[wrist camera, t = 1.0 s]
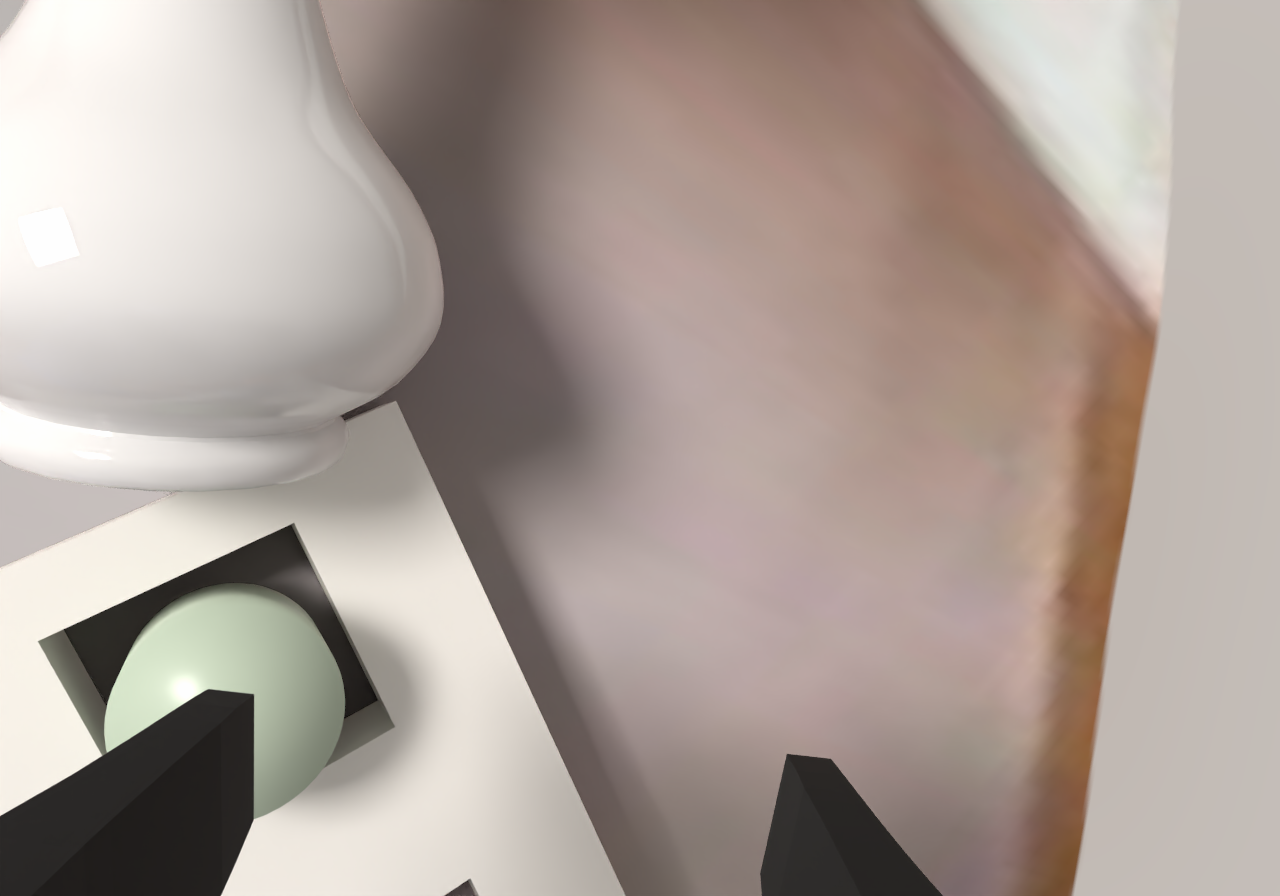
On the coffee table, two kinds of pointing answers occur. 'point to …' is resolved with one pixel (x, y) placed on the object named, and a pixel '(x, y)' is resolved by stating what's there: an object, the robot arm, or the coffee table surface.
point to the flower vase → (195, 246)
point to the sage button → (239, 680)
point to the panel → (370, 739)
